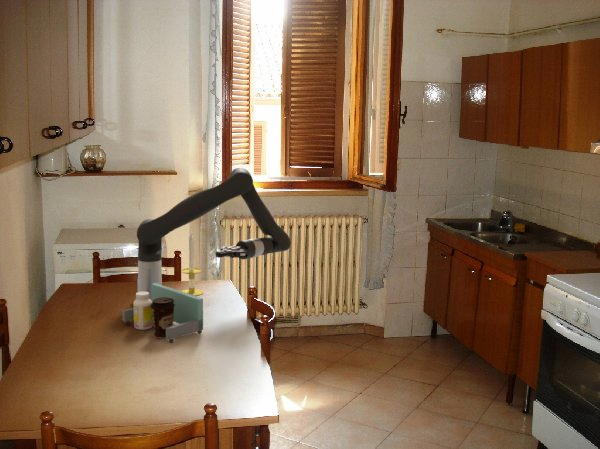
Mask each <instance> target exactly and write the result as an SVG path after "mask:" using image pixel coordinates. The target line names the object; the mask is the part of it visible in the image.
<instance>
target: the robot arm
mask: <svg viewBox="0 0 600 449" xmlns="http://www.w3.org/2000/svg"><path fill="white" fill-rule="evenodd" d="M239 196H241V198H242V200H244V203H245V204H246V205H247V207H248V209H249V211H250V214H251V215H252V218H253V219H254V221H255V223H256V225H257V226H258V228H259V230H260V231H261V233H262V234H263V235H265V236H267V237H259V238H249V239H244V240H243V239H242V240H239V241H238V242H236V244H235V245H234V244H233V245H231V246H227V245H222V247H221V248H220V250H217V251H215V258H224V257H226V258H230V259H231V258H235V259H236V258H237V259H240V260H247V259H253V258H258V257H260V256H265V255H269V254H275V253H280V252H286V251H288V250H289V249H290V248H291V245H292V244H291V243H292V242H291V238H290V236H289V235H288V233H287V232H286V231H284V229H283V228H282V227H281V226H280V225H279V224H278V223H277V222H276V220H275V218H274V217H273V215H272V214H271V212H270V210H269V209H268V207H267V206H266V204H265V203H264V202H263V200H262V199H261V197H260V195H259V193H258V192H257V190H256V188H255V185H254V179H253V177H252V175H251V173H250V172H249V170H247V169H246V168H243V167H236V168H234V169H232V171H230V173H229V176H228V178H227V179H226V180H224V181H223V182H221V183H220V184H218V185H216V186H214V187H210V188H207V189H203V190H201V191H197V192H196V193H193V194H191V195H189V196H188V197H186V198H184V199H183V200H182V201H179V202H178V203H177V204H176V205H174V206H173V207H172V208H170V209H169V210H168V211H167V212H166V213H164V214H162V215H161V216H158V217H156V218H153V219H152V218H151V219H150V218H148V219H144V220H143V221H141V222H140V224H139V225H138V227H137V230H136V238H137V240H138V250H137V259H138V260H137V269H138V270H137V271H138V272H137V273H138V274H137V275H138V276H137V278H136V279H137V292H149V299H150V300H151V301H152V286H151V284H154V283H157V284H160V285H163V284H162V283H163V281H162V278H163V277H162V276H163V275H162V270H163V269H162V248H163V247H162V241H163V238H164V237H165V236H167V235H168V234H170V233H171V232H173V231H175V230H177V229H179V228H182V227H183V226H185V225H188V224H190V223H191V222H192V223H193V221H195V220H197V219H199V218H201V217H203V216H205V215H206V214H208V213H209V212H211V211H213V210H215V209H216V208H218V207H220V206H221V205H223V204H225V202H228V201H230V200H232V199H235V198H237V197H239Z"/></svg>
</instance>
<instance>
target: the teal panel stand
mask: <svg viewBox="0 0 600 449" xmlns="http://www.w3.org/2000/svg"><path fill="white" fill-rule="evenodd" d="M151 286H152V303H153V300H154V299H156V298H162V297H168V298H172V299H173V300H174V302H173V303H174V304H175V306H174V317H173V323H176V324H173V326H171V327H167V328H166V338H165V340H166V341H168V342H169V343H173V342H174V339H177V338H181V337H184V336H187V335H190V334H194V333H197V334H199V335H202V333H203V330H204V299H203V297H200V296H194V295H191V294H188V293H185V292H182V290H178V289H177V288H176V289H175V288H172V287H169V286H167V285H163V284H162V285H160V284H157V283H154V284H151ZM121 312H122V313H121V316H122V319H121V321H122V322H124V324H125V325H127V326H128V325H129V324H130V323H131V322H130V321H134V310H133V307H131V308H126V309H123V310H121Z"/></svg>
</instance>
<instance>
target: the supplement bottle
mask: <svg viewBox="0 0 600 449" xmlns="http://www.w3.org/2000/svg"><path fill="white" fill-rule="evenodd" d="M151 304H152V301H151V300H150V299H149V292H138V291H137V292H136V293H135V300H134V301H133V304H132V305H133V306H132V308H133V310H134V320H133V327H134V329H136V330H139V331H140V330H141V331H144V330H145V331H146V330H150V329H151V328H152V327H153V316H152V309H151V307H150V305H151Z"/></svg>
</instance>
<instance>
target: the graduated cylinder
mask: <svg viewBox="0 0 600 449" xmlns="http://www.w3.org/2000/svg"><path fill="white" fill-rule="evenodd" d="M181 273H183V274H185V275H188V289H184V290H181V291H182V292H185V293H188V294H191V295H194V296H197V297H200V296H202V295H203V294H204V291H203V290H202V289H199V288H195V287H196V286H195V280H196V279H195V275H196V274H200V273H202V269H201V268H198V267H197V268H196V267H195V237H194V235H193V232H192V231H191V232H190V235H189V236H188V268H182V269H181Z"/></svg>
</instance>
